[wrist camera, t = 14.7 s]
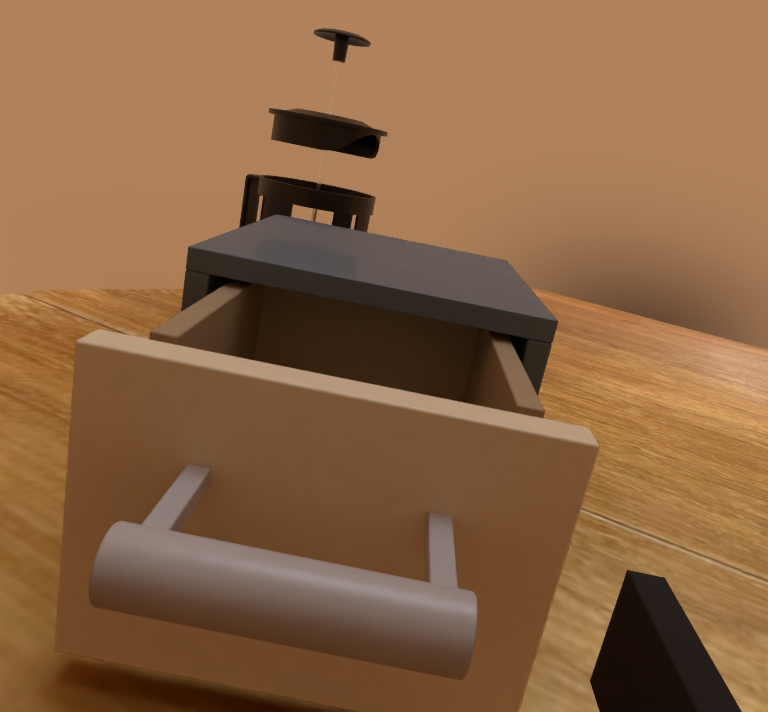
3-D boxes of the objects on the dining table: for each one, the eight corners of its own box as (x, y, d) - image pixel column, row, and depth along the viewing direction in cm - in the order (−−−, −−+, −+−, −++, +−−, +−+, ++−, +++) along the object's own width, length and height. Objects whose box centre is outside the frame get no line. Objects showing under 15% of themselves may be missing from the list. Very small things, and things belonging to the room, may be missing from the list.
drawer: (539, 935, 14) (672, 559, 12) (-70, 814, 14) (-66, 411, 12) (472, 493, 33) (518, 313, 30) (211, 441, 33) (236, 256, 30)
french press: (378, 345, 58) (435, 54, 52) (317, 364, 50) (376, 22, 44) (267, 308, 63) (307, 38, 56) (195, 320, 55) (232, 6, 48)
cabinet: (490, 573, 28) (558, 320, 25) (158, 506, 28) (187, 245, 25) (466, 428, 43) (507, 260, 40) (251, 385, 43) (276, 213, 40)
